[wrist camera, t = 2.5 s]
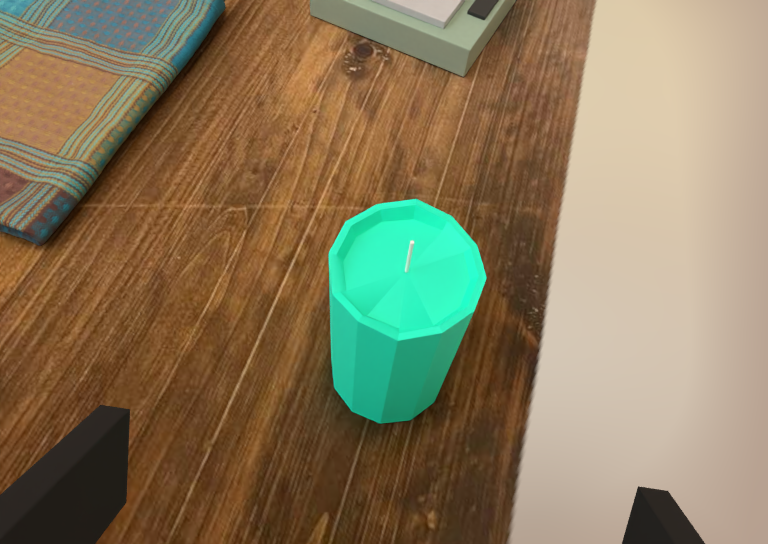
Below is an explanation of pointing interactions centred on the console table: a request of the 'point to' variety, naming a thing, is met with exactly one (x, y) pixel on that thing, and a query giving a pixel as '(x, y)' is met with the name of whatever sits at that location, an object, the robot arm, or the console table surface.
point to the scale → (421, 26)
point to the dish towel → (80, 93)
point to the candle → (399, 306)
